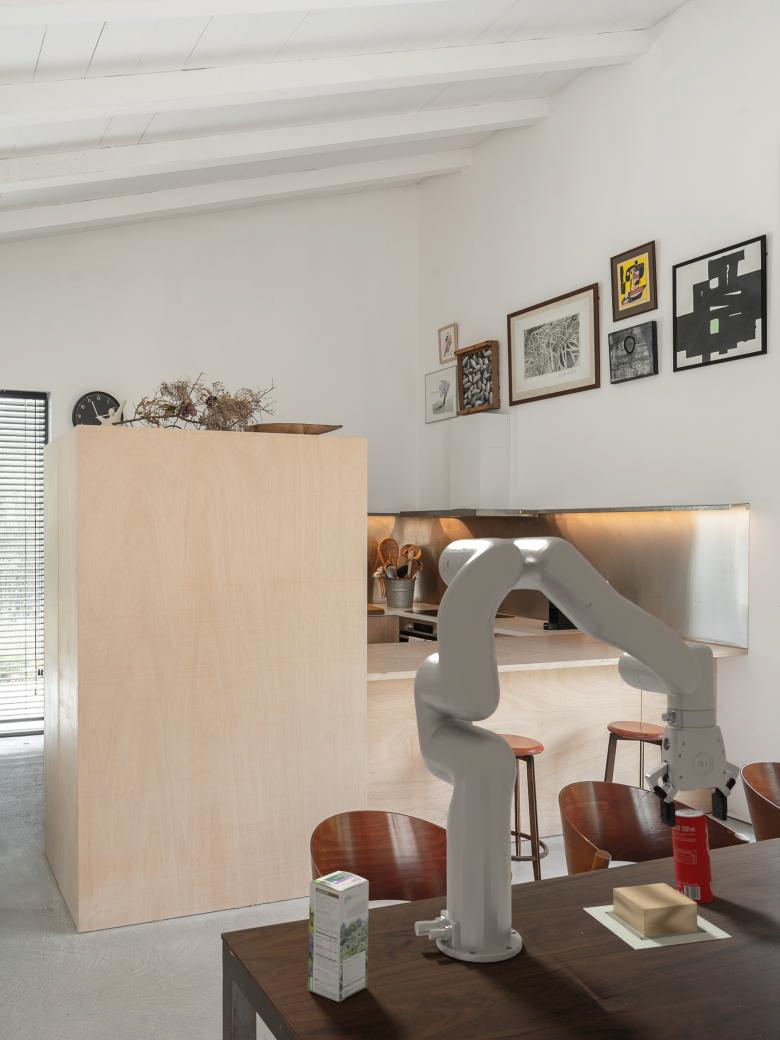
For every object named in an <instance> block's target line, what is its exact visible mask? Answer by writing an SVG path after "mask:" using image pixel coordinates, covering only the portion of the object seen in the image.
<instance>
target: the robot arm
mask: <svg viewBox="0 0 780 1040" xmlns="http://www.w3.org/2000/svg"><path fill="white" fill-rule="evenodd" d="M438 571H439V575H440V578H441V579H442V581H443V582H444V583H445V585H446V586H448V587H447V588H446V590H445V591H444V593H443V595H442V598H441V600H440V603H439V606H438V610H437V615H436V635H437V636H436V639H437V652H435V653H432V654H430V655H428V656H427V657H426V658H425V659H424V660H423V661H422V662H421V663H420V665H419V667H418V668H417V671H416V674H415V677H414V682H413V683H414V684H413V695H414V696H413V697H414V698H413V699H414V707H415V708H414V709H415V717H416V725H417V734H418V735H417V736H418V743H419V750H420V754H421V759H422V761H423V764H424V765H425V767H426V768H427V770H428V771H429V772H430V774H431V775H433V776H434V777H435V778H437V779H439V780H441V781H443V782H445V783H447V784H450V785H451V786H452V787H453V790H452V795H451V799H450V802H449V805H448V810H447V814H446V823H445V825H446V827H445V828H446V829H445V831H446V909H443V910H440V916H439V917H437V916H436V917H434V918H435V919H434V920H420V921H415V922H414V931H415V936H417V937H418V936H419V937H420V936H428V939H429V941H433V940H435V941H436V946H437V948H438V949H439V950H440V951H441V952H442V953H443V954H445V955H446V956H449V957H451V958H453V959H456V960H460V961H464V962H469V963H470V962H472V963H494V962H501V961H504V960H508V959H511V958H513V957H515V956H517V955H518V954H519V953H520V952H521V950H522V948H523V938H522V936H521V935H520V933H519V932H518V931H517V930H515V929H514V928H512V837H511V836H512V807H513V806H512V805H513V796H514V792H515V786H516V780H517V774H518V767H517V766H518V764H517V763H518V762H517V758H516V754H515V752H514V749H513V748H512V746H511V745H510V743H509V742H508V741H507V740H506V738H504V737H503V736H501V735H500V734H498V733H496V732H494V731H493V730H489V729H486V728H483V727H482V726H481V727H480V726H478V725H473V724H474V722H481V721H485V720H486V719H488V718H491V717H492V716H493V714H495V712H496V711H497V709H498V707H499V704H500V699H501V687H500V677H499V667H498V661H497V652H496V644H495V643H496V641H495V620H496V616H497V612H498V610H499V608H500V606H501V604H502V602H503V601H504V600H505V598H506V597H507V595H509V593H510V592H511V591H512V590H537V591H540V592H541V593H542V594H544V596H545V597H546V598H547V599H548V600H549V601H550V602H551V603H552V604H554V605H555V607H556V608H557V609H559V611H561V613H562V614H563V615H564V616H565V617H566V618H567V619H568V620H569V621H570V622H571V623H572V624H573V625H574V626H575V627H576V628H577V630H579V631H580V632H581V633H583V634H585V635H586V636H589V637H590V638H593V640H596V641H598V642H600V643H604V644H606V645H608V646H610V647H613V648H615V649H618V650H620V651H622V653H621V655H620V657H619V660H618V663H617V671H618V673H619V676H620V677H621V679H622V681H624V682H625V683H626V684H627V685H628V686H630V687H632V688H634V689H637V690H640V691H641V690H642V691H646V692H651V693H655V694H657V693H658V694H660V695H661V694H662V695H666V698H667V708H666V712H665V713H662V714H661V719H662V722H665V723H666V722H667V725H664V731H663V735H662V743H661V755H660V756H661V757H660V764H659V765H658V766H655V768H653V769H651V770H650V771H648V772H647V773H646V774H644V779H645V781H646V784H647V785H648V786H649V790H650V791H651V792H652V793H653V794H654V796H656V798H657V799H658V800H659V810H660V811H659V813H660V814H659V815H660V819H661V822H662V824H664V825H665V826H668V827H669V828H672V827H675V826H676V814H675V810H676V803H675V802H674V801H673V800H674V798H675V796H676V795H677V793H678V792H693V791H702V790H711V789H713V791H714V792H713V791H712V792H711V815H712V817H713V818H715V819H718V820H720V821H722V822H727V820H728V797H730V795H731V794H732V793H731V791H732V789H733V788H734V787H735V786H736V785H737V784H736V783H737V781H736V780H738V779H737V778H738V776H739V774H740V771H741V768H740V767H739V766H737V765H735V764H733V763H731V762H729V761H727V755H726V747H725V743H724V737H723V734H722V729H721V726H720V725H717V724H716V706H715V675H714V674H715V673H714V672H715V671H714V669H715V667H714V652H713V650H712V648H711V647H710V646H709V645H708V644H704V643H699V642H697V643H696V642H685V641H684V640H683V639H682V638H681V636H680V635H678V634H677V633H676V632H675V631H674V630H673V629H672V628H671V627H670V626H668V624H665V623H664V622H663V621H661V620H660V619H659V618H657V617H656V616H654V615H653V614H651V613H649V612H648V611H646V610H645V609H643V608H642V607H640V606H639V605H637V604H635V603H634V602H632V601H631V600H630V599H628V598H626V597H624V596H623V595H621V594H620V593H619V592H618V591H617V590H616V589H615V588H614V587H613V586H612V585H611V584H610V583H609V582H608V580H606V579H605V578H604V577H603V576H602V574H601V573H599V571H597V569H596V568H595V567H594V566H593V565H592V563H590V562H589V561H588V559H587V558H585V557H584V555H583V554H582V553H581V552H580V551H579V550H578V549H577V548H576V547H575V546H574V545H573V544H572V543H570V542H569V541H567V540H566V539H564V538H561V537H558V536H534V537H533V536H531V537H530V536H528V537H527V536H526V537H517V538H516V537H514V538H499V537H480V538H463V539H457V540H455V541H453V542H451V543H450V544H448V545H447V546H446V547H444V550H443V551H442V552H441V553H440V555H439V559H438ZM660 778H661V781H662V785H661V786H660V785H659V779H660Z"/></svg>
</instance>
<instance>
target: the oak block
mask: <svg viewBox="0 0 780 1040" xmlns="http://www.w3.org/2000/svg"><path fill="white" fill-rule="evenodd" d="M612 891H613V893H612V894H613V895H612V896H613V897H612V898H613V899H612V900H613V904H612V905H613V912H614V915H615V916H617V917H618V918H619V919H621V920H622V921H623V922H625V923H626V924H627V925H629V926H630V927H631V928H633V929H634V930H636V931H637V932H638V933H640V934H641V935H642V936H644V937H647V936H655V935H663V934H671V933H679V932H687V931H695V930H697V915H698V903H696V902H694V901H693V900H691V899H689V898H688V897H686V896H684V895H683V894H681V893H680V892H678V891H676V889H675V888H673V887H672V886H669V884H667V883H665V882H661V883H651V884H650V883H649V884H641V885H633V886H622V887H614V888H613V890H612Z"/></svg>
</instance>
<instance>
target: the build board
mask: <svg viewBox="0 0 780 1040" xmlns="http://www.w3.org/2000/svg"><path fill="white" fill-rule="evenodd" d="M582 909H583V910H584V911H585V912H586V913H587V914H589V915H590V916H592V917H593V918H594V919H595V920H597V921H598V922H599V923H600V924H602V925H603V926H604V927H606V928H607V929H608V930H609V931H611V932H612V933H613V934H615V935H616V936H617V937H618V938H620V939H621V940H623V942H625V943H626V944H628V946H630V947H631V948H633V949H634V950H636V951H637V950H642V949H650V948H658V947H665V946H673V945H674V946H675V945H680V944H682V945H683V944H690V943H697V942H705V941H713V940H720V939H728V938H732V935H730V934H729V933H727V932H725V931H724V930H722V929H720V928H719V927H717V926H716V925H714V924H712V923H711V922H709V921H708V920H706V919H705V918H703V917H702V916H700V915H698V914H697V930H695V931H687V932H679V933H671V934H663V935H655V936H647V937H644V936H642V935H641V934H640V933H638V932H637V931H636V930H634V929H633V928H631V927H630V926H629V925H627V924H626V923H625V922H623V921H622V920H621V919H619V918H618V917H617V916H615V915H614V912H613V904H608V905H600V906H599V905H598V906H592V907H583V908H582Z"/></svg>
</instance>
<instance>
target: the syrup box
mask: <svg viewBox="0 0 780 1040" xmlns="http://www.w3.org/2000/svg"><path fill="white" fill-rule="evenodd" d="M369 887H370V881H369V880H368V879H366V878H364V877H361V876H359V875H357V874H354V873H352V872H348V871H341V870H337V871H334V872H332V873H329V874H327V875H324V876H322V877H319V878H317V879H314V880H311V881H310V882H309V908H308V910H309V911H308V912H309V913H308V916H309V918H308V967H307V968H308V970H307V971H308V975H307V977H308V978H307V979H308V980H307V988H308V991H309V992H312V993H314V994H317V995H320V996H322V997H325V998H326V999H329V1000H333V1001H335V1002H338V1003H341V1002H342V1001H345V1000H346V999H348V998H350V997H351V996H354V995H355V994H357V993H359V992H361V991H363V990H364V989H367V987H368V966H369V965H368V963H369V961H368V960H369V959H368V957H369V956H368V954H369V953H368V952H369V904H370V903H369V900H370V899H369V896H370V895H369V894H370V893H369V890H370V888H369Z"/></svg>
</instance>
